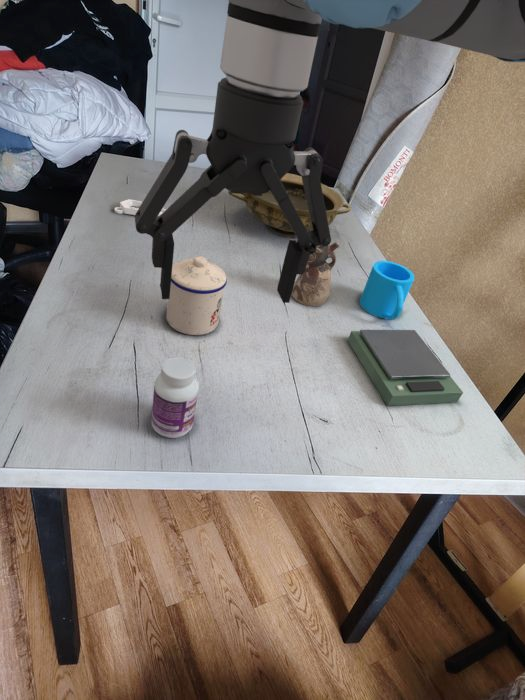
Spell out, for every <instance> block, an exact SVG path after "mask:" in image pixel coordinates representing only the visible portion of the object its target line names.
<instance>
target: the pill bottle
mask: <svg viewBox="0 0 525 700" xmlns="http://www.w3.org/2000/svg"><path fill="white" fill-rule="evenodd" d="M196 372H197V368H196V365H195V363H194V361H192V360H190V359H188V358H186V357H183V356H173V357H169V358H166V359H165V360H164V361H163V363H162V365H161V370H160V373H159V374H158V375H157V377H155V380H154V383H153V395H152V408H151V421H150V423H151V426H152V427H151V428H152V429H153V430H154V431H155V432H156V433H157V434H159V435H160V436H162V437H165V438H170V439H175V438H176V439H177V438H181V437H183V436H185V435H186V434H188V433H189V432H190V431H191V429H192V428H193V425H194V421H195V415H196V410H197V402H198V397H199V390H200V383H199V381H198V379H197V377H196Z"/></svg>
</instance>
